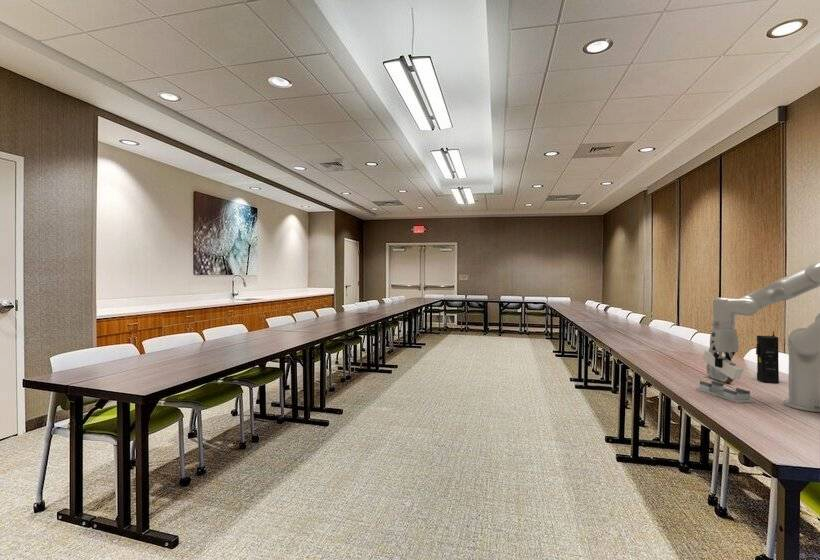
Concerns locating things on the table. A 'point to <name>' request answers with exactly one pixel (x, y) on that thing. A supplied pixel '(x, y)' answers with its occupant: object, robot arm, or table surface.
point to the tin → (718, 375)
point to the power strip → (724, 366)
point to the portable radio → (767, 359)
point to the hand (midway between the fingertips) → (722, 366)
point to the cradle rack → (725, 392)
